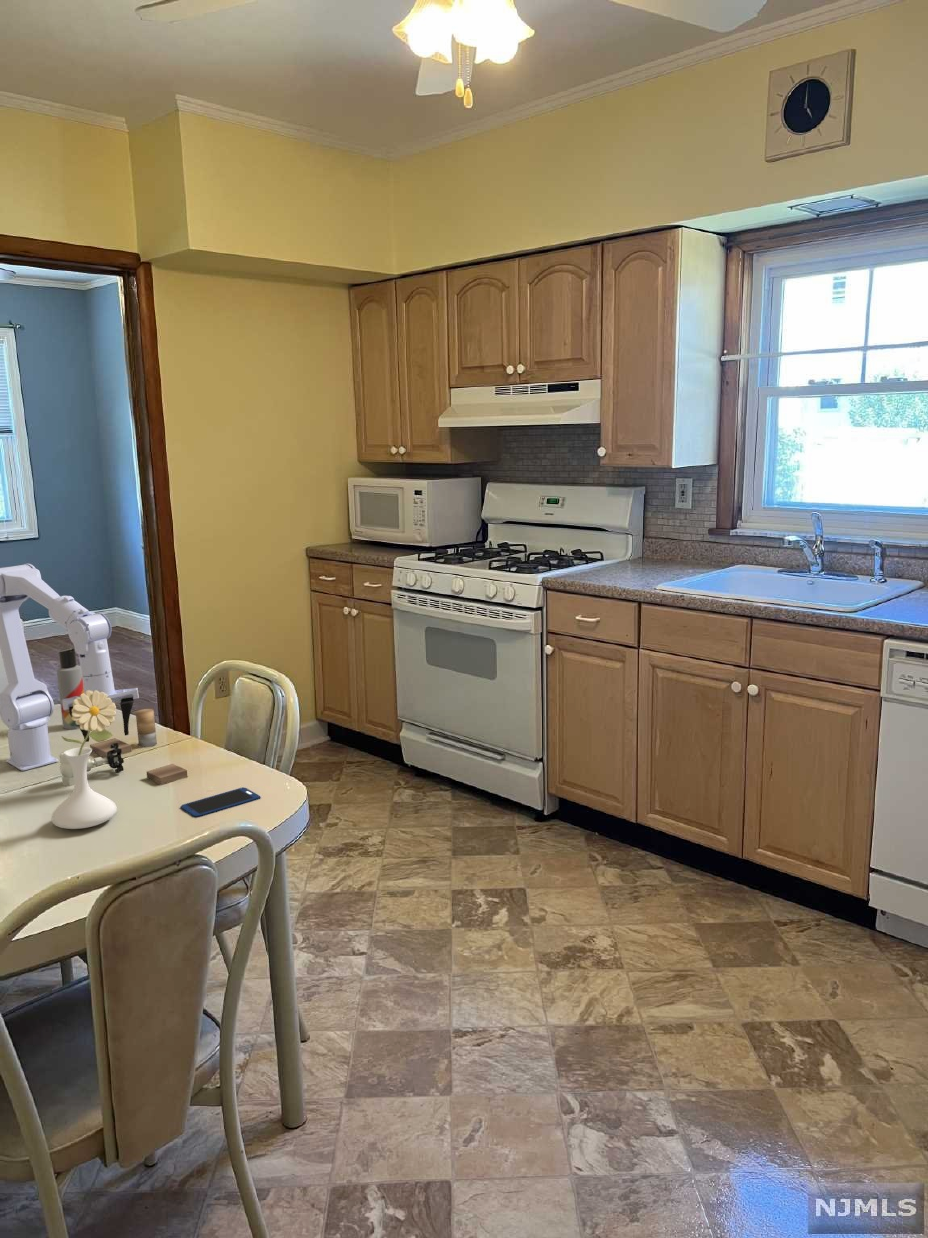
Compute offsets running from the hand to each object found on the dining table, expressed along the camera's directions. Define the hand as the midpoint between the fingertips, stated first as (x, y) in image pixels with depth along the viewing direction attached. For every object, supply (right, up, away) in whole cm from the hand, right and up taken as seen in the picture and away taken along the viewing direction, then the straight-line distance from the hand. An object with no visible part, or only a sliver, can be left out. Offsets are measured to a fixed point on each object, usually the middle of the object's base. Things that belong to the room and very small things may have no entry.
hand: (107, 737), depth 191 cm
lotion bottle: (-24, -3, +41) cm, 47 cm away
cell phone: (+27, -12, -11) cm, 31 cm away
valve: (-5, -9, +4) cm, 11 cm away
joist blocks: (+3, -7, +11) cm, 14 cm away
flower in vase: (+4, -13, -19) cm, 23 cm away
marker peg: (0, -5, +25) cm, 25 cm away
